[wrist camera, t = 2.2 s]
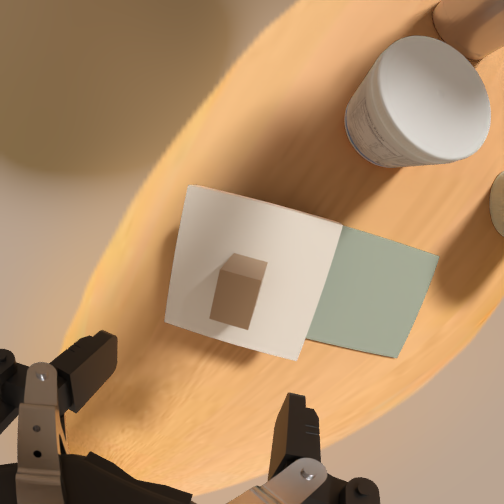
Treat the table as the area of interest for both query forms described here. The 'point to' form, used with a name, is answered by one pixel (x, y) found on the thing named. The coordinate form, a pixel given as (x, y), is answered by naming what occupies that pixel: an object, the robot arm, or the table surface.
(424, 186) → the table surface
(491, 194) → the can
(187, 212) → the lid
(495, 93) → the table surface
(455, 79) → the supplement tub
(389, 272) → the mat
